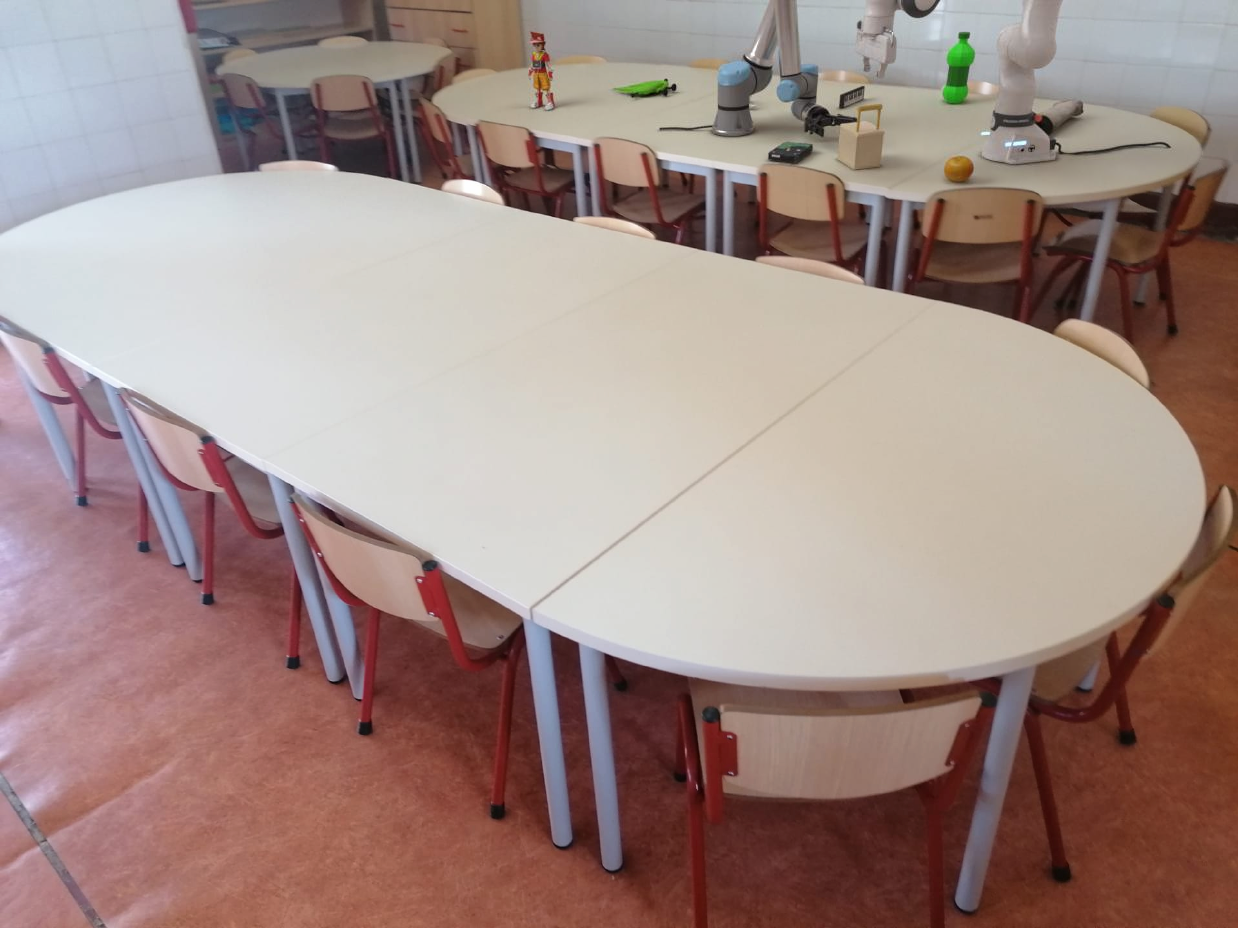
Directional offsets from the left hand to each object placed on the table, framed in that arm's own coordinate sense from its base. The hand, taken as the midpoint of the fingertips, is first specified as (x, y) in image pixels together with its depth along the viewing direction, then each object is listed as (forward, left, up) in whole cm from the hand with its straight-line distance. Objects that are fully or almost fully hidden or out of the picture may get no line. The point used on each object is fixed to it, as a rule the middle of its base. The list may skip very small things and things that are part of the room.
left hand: (841, 130), depth 306 cm
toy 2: (-111, +56, -7) cm, 124 cm away
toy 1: (-138, +18, -7) cm, 139 cm away
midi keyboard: (-17, +64, -7) cm, 66 cm away
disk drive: (-13, -12, -7) cm, 19 cm away
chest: (+10, -11, -7) cm, 16 cm away
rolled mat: (+60, +55, -7) cm, 81 cm away
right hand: (+13, -14, +22) cm, 29 cm away
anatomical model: (-58, +46, -7) cm, 74 cm away
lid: (+10, -11, +4) cm, 16 cm away
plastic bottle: (+20, +78, -7) cm, 81 cm away
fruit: (+44, -18, -7) cm, 48 cm away
